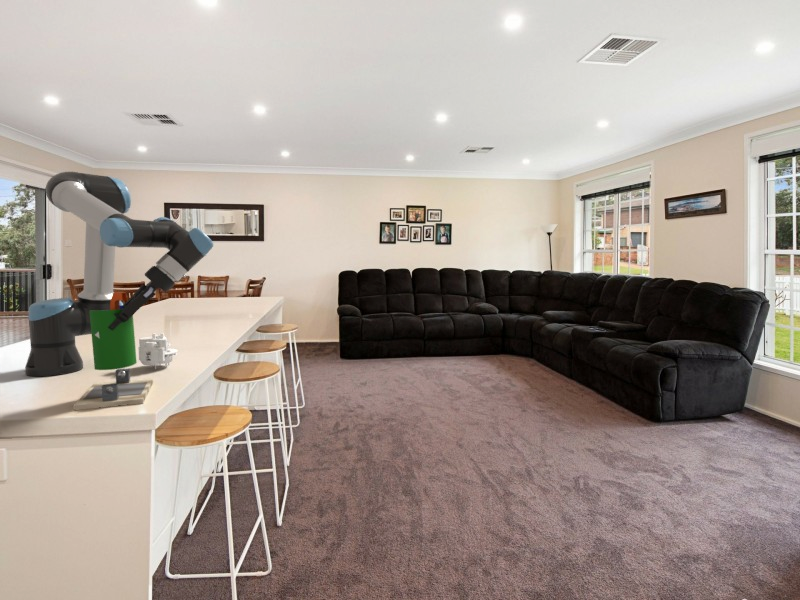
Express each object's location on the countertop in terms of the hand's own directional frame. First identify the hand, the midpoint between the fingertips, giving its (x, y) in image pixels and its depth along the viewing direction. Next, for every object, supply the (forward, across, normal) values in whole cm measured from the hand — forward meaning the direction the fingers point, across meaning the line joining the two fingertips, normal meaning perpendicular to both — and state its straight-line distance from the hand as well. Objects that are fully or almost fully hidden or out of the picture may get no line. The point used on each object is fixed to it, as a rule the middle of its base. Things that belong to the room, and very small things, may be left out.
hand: (100, 335), depth 122 cm
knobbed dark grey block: (+10, -7, -12) cm, 17 cm away
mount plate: (+10, 0, -14) cm, 17 cm away
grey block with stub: (+8, +8, -14) cm, 18 cm away
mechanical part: (+1, +29, -23) cm, 37 cm away
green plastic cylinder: (+4, 0, -8) cm, 9 cm away
